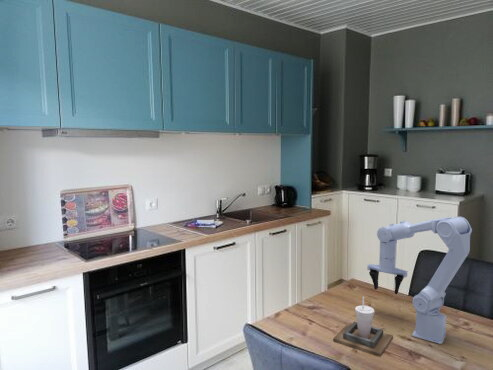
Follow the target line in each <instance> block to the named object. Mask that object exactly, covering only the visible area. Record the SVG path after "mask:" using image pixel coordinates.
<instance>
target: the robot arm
mask: <svg viewBox="0 0 493 370" xmlns="http://www.w3.org/2000/svg"><path fill="white" fill-rule="evenodd" d="M429 231H431V232H433V234H435V235H436V234H437V235H438V236H439V238H440V239H441V240H442V242H443V243H444V244H445V246H446V247H447V248H448V251H447V252H446V254H445V256H444V258H443V259H442V261H441V262H440V264H439V266H438V268H437V269H436V271H435V272H434V274H433V276H432V277H431V279H430V280H429V282H428V283H427V285H426V286H425V287H423V288H422V290H421V291H420V292H419V293H417V294H416V295H414V296H413V298H412V305H413V307H414V310H415V312H416V313H415V314H416V315H415V329H414V330H413V332H412V334H411V336H412V337H414V338H417V339H422V340H425V341H429V342H431V343H436V344H439V345H443V343H444V341H445V338H446V335H447V315H445V314H443V313H441V312H440V309H441V307H443V305H444V303H445V297H446V295H447V294H446V289H447V288H448V286H449V285H450V283H451V281H453V279H454V277H455V275H456V274H457V273H458V271H459V269H460V268H461V266H462V264H463V263H464V262H465V260H466V258H467V257H468V255H469V254H470V251H471V250H470V249H471V235H472V232H473V229H472V226H471V225H470V223H469V221H468V220H467V219H466V218H465V217H463V216H454V217H441V218H440V217H438V218H433V219H430V220H429V219H428V220H425V221H420V222H417V223H413V224H412V222H410V221H405V220H401V221H400V222H399V223H396V224H394V223H391V224H389V225H387V226H381V227H379V228H378V229H377V231H376V236H377V239H378V240H379V258H378V259H379V262H378V264H373V263H372V264H371V263H369V264H367V269H366V270H367V271H369V276H370V278H371V280H372V283H373V288H374V290H378V288H379V276H380V275H379V274H380V273H383V274H384V273H385V274H390V275H395V276H394V294H395V295H397V294H398V293H399V291H400V290H399V289H400V286H401V284H402V282H403V280H404V278H407V277H408V271H407V270H404V269H401V268H398V267H396V255H397V254H396V252H397V251H396V250H397V249H396V248H397V242H398V241H399V240H403V239H405V240H406V239H409V238H410V239H411V238H412V237H414V235H415V234H416V233H422V232H429Z"/></svg>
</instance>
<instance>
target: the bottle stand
mask: <svg viewBox="0 0 493 370" xmlns="http://www.w3.org/2000/svg"><path fill="white" fill-rule="evenodd" d="M393 339H394V335H393V334H389V333H386V332H384V329H382V328H378V327H375V326H373V325H371V331H370V337H369V338H363V337H360V336H359V335H358V326H357V321H355V320H354V321H353V322H348V323H346V324H345V326H344V327H343V328H342V329H341V330H340V331H338V333H337V334H336V335H335V336H334V337H333V339H332V340H333V342H334V343H337V344H340V345H344V346H347V347H350V348H353V349H356V350H359V351H362V352H365V353H368V354H371V355H374V356H378V357H380V358H381V356H382V355H383V354H384V352H385V351H386V349H387V348H388V347H389V345H390V343H391V342H392V340H393Z"/></svg>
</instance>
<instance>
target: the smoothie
mask: <svg viewBox="0 0 493 370" xmlns="http://www.w3.org/2000/svg"><path fill="white" fill-rule="evenodd" d="M361 299H362V300H361V303H362V305H357V306H355V309H354V311H355V315H356V322H357V326H358V335H359V336H360V337H363V338H369V337H370V331H371V326H373V325H372V323H373V317H374V315H375V309H374V308H373V307H371V306H370V305H369V306H368V305H365V296H362V298H361Z"/></svg>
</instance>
